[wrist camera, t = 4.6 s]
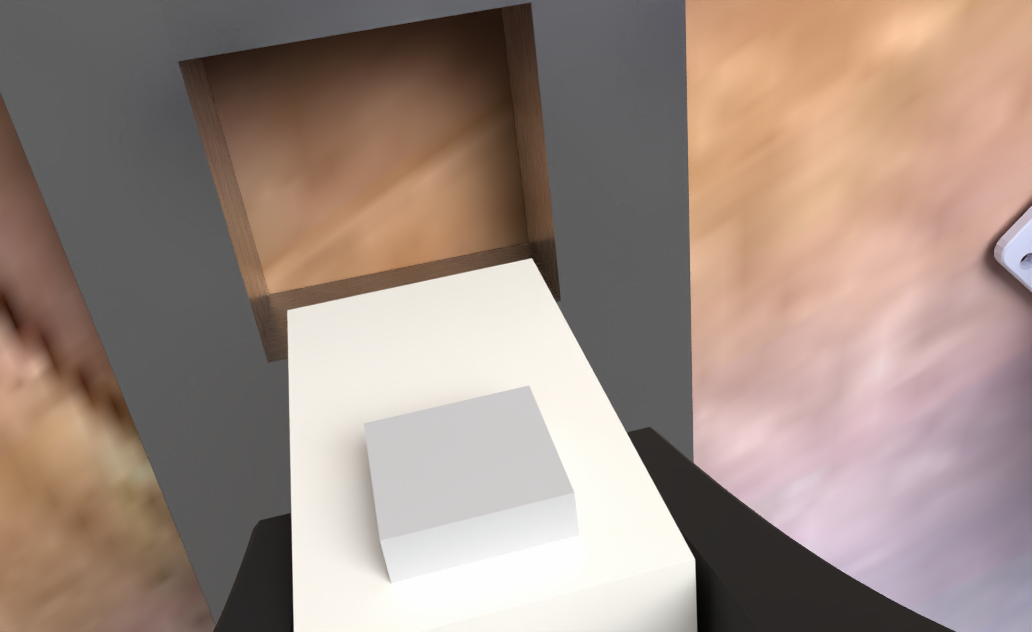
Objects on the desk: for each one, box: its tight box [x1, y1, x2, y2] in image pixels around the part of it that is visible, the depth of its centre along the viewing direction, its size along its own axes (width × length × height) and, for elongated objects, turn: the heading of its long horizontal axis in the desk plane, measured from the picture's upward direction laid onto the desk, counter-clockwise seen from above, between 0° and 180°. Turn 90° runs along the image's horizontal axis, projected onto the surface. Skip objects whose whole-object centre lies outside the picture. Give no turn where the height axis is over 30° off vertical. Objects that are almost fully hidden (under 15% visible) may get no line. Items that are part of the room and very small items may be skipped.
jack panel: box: [0, 0, 693, 625], centre depth 22 cm, size 24×12×3 cm, turn 7°
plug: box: [287, 258, 697, 632], centre depth 13 cm, size 5×4×7 cm
